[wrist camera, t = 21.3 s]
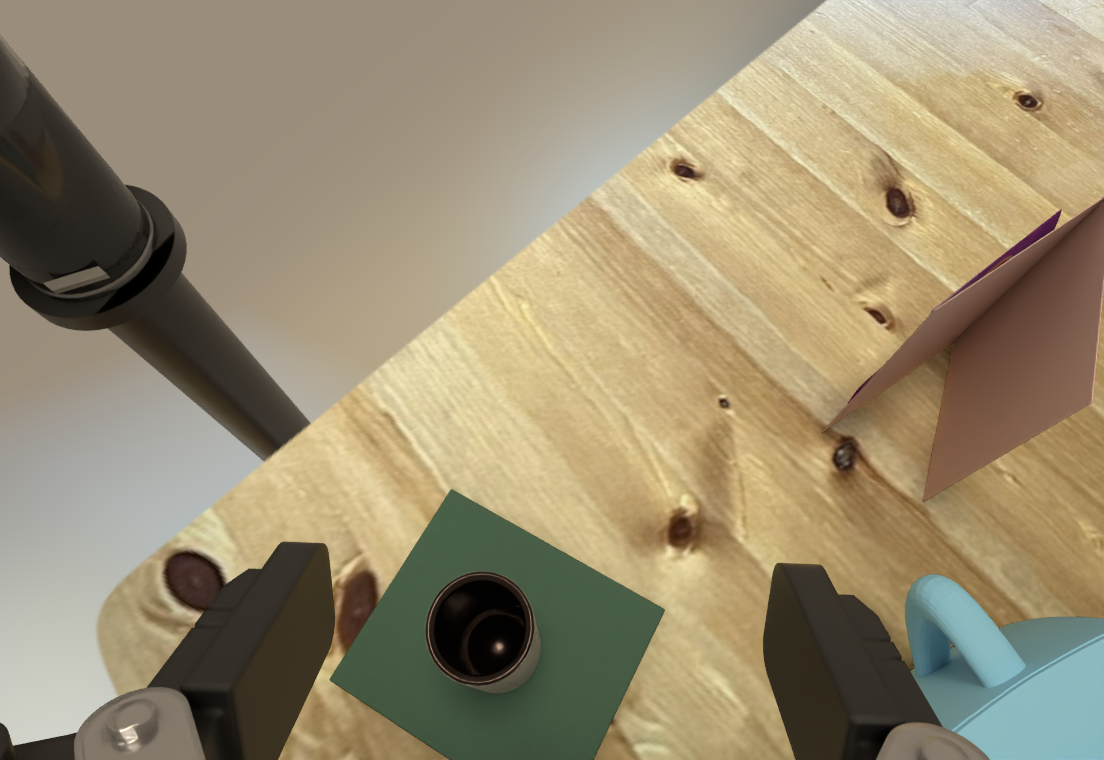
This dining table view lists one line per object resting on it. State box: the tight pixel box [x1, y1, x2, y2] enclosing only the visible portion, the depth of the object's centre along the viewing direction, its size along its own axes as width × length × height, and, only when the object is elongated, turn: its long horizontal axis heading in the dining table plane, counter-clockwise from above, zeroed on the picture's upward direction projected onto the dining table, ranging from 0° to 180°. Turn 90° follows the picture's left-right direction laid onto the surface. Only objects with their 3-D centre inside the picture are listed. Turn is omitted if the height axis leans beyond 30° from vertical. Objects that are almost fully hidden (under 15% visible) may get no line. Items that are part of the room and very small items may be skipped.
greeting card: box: [822, 197, 1104, 502], centre depth 38 cm, size 11×7×15 cm, turn 123°
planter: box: [425, 571, 541, 693], centre depth 34 cm, size 4×4×10 cm
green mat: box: [330, 489, 665, 760], centre depth 39 cm, size 14×12×1 cm
